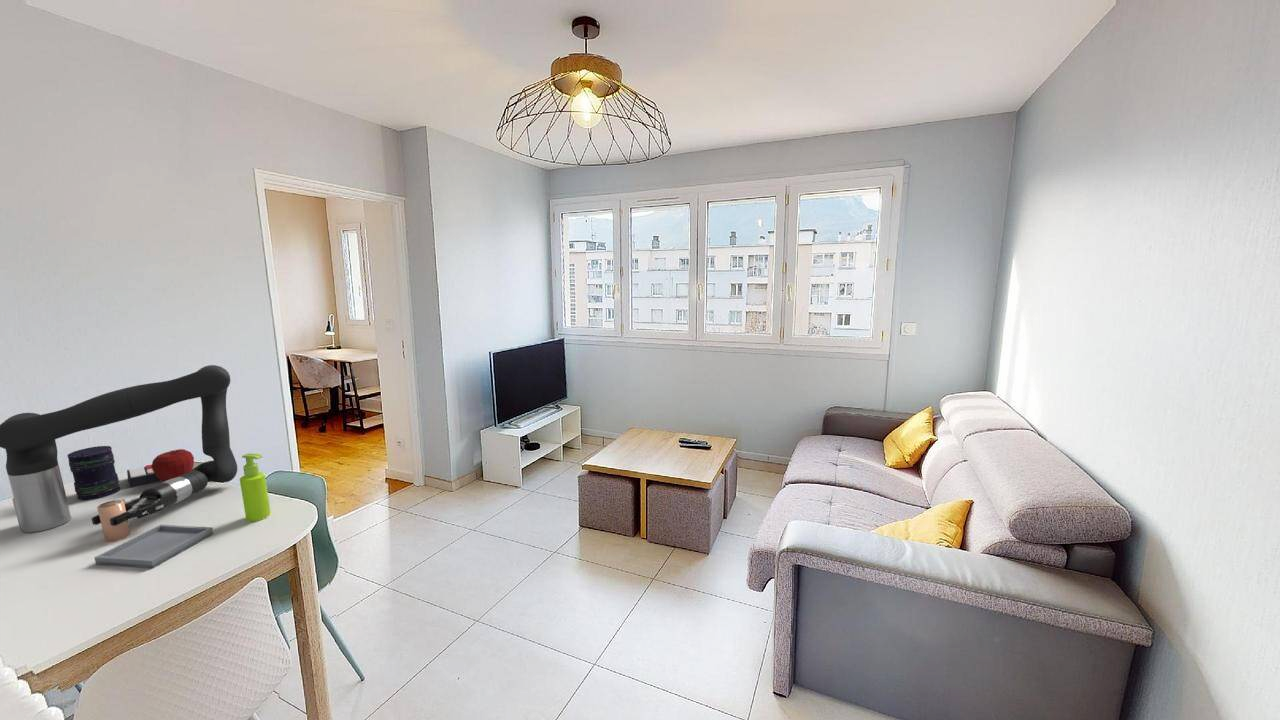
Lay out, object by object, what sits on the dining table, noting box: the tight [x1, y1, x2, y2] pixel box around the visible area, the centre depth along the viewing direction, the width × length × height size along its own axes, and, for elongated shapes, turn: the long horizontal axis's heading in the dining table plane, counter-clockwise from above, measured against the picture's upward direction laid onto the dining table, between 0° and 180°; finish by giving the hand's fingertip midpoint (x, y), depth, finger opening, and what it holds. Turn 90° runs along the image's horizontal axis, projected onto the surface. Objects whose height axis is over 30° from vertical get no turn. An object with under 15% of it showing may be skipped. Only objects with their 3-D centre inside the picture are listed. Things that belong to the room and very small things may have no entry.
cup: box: [96, 499, 132, 543], centre depth 135 cm, size 5×5×10 cm
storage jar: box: [66, 445, 121, 501], centre depth 160 cm, size 10×10×15 cm
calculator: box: [126, 464, 162, 489], centre depth 175 cm, size 11×4×15 cm
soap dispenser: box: [239, 452, 271, 522], centre depth 145 cm, size 6×7×20 cm
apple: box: [151, 448, 195, 483], centre depth 170 cm, size 11×11×12 cm
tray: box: [94, 524, 215, 569], centre depth 131 cm, size 16×16×2 cm
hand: (102, 522), depth 132 cm, fingers closed on cup, 5 cm apart
